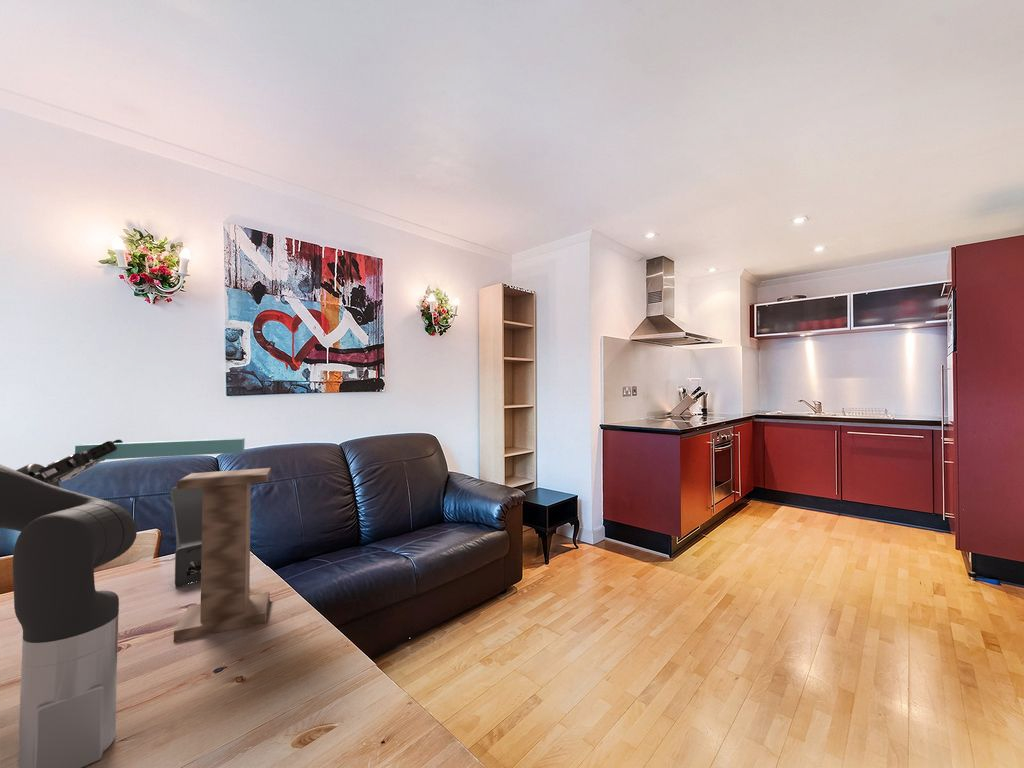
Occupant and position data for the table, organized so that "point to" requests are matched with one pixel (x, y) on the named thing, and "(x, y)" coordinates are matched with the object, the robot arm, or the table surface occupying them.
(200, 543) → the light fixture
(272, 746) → the table surface
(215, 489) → the walnut stand
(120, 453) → the teal bar
